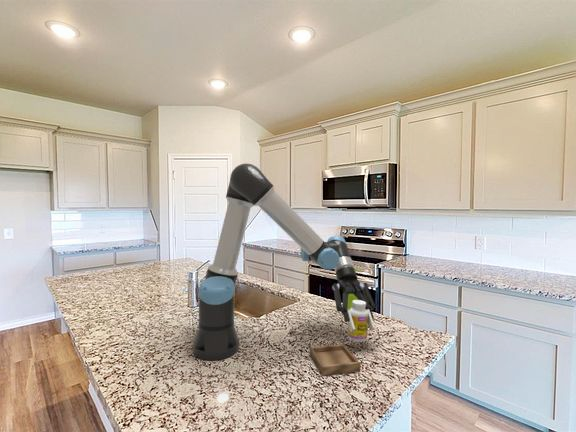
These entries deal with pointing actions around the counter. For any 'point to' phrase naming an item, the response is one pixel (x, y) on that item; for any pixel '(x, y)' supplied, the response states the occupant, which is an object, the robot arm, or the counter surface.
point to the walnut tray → (334, 359)
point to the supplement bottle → (359, 321)
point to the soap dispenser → (351, 297)
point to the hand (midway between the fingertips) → (362, 329)
